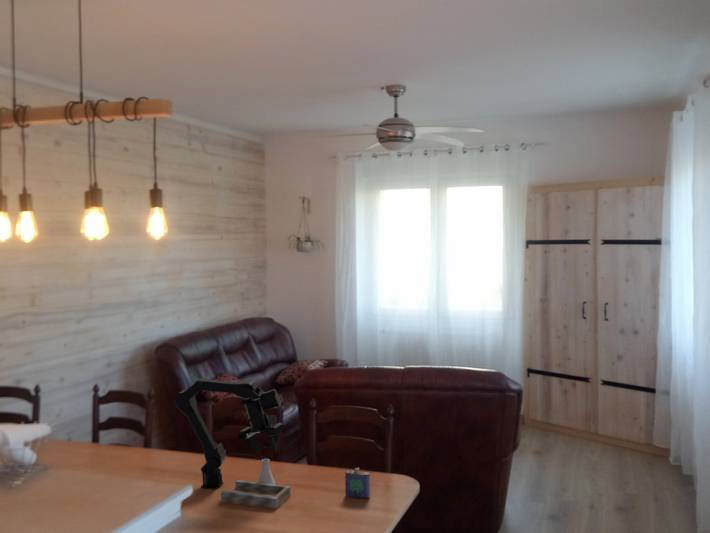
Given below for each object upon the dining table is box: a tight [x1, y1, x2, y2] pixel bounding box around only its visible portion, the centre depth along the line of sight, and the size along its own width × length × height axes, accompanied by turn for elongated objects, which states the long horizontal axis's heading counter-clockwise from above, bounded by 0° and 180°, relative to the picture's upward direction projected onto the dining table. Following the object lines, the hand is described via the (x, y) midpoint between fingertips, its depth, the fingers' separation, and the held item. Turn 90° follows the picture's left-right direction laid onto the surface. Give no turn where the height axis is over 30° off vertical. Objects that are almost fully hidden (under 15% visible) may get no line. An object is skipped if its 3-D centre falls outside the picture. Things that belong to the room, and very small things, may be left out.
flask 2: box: [344, 467, 371, 500], centre depth 232 cm, size 9×3×11 cm, turn 74°
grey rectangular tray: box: [220, 479, 292, 510], centre depth 231 cm, size 22×12×4 cm, turn 72°
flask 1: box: [257, 458, 276, 484], centre depth 243 cm, size 7×7×10 cm
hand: (267, 452), depth 242 cm, fingers open, 9 cm apart
